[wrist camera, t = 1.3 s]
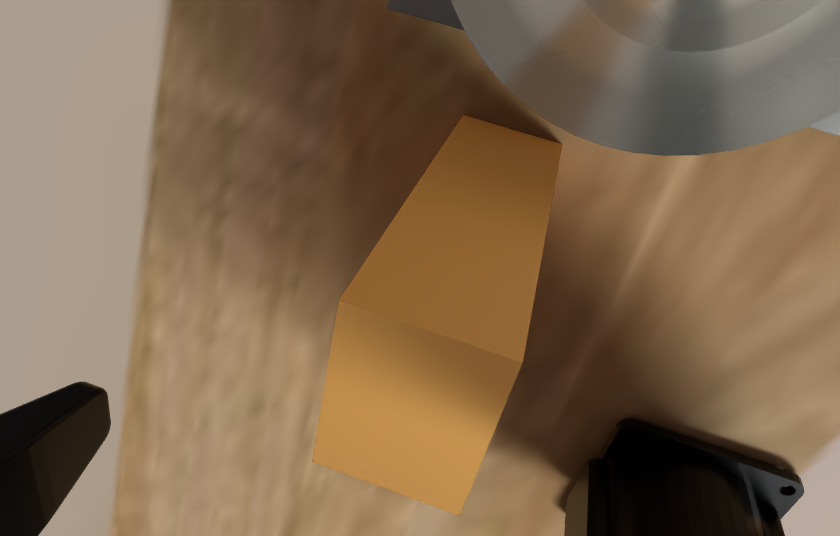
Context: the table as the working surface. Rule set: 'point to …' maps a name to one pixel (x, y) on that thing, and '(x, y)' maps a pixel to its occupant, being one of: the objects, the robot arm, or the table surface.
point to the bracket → (660, 66)
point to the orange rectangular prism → (440, 319)
